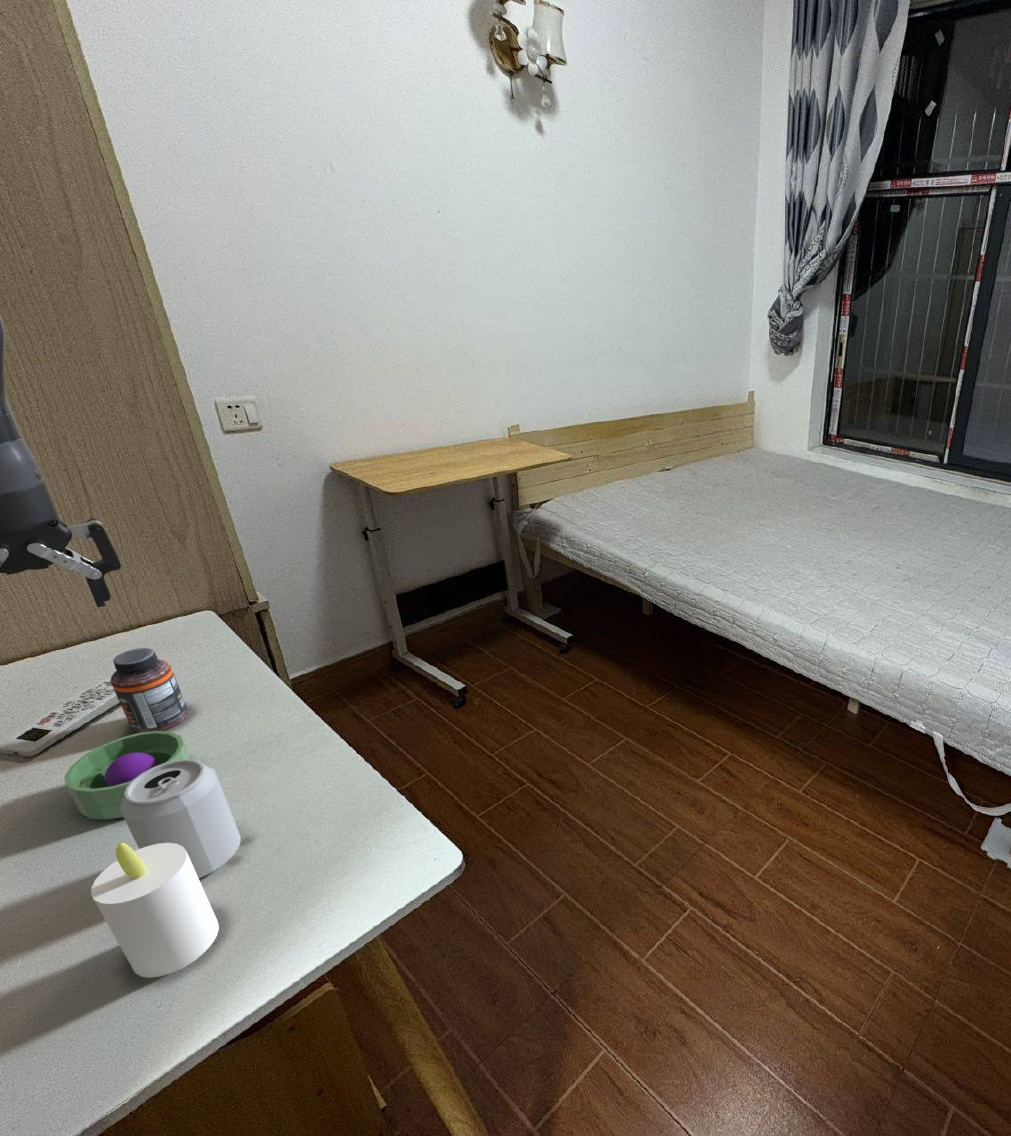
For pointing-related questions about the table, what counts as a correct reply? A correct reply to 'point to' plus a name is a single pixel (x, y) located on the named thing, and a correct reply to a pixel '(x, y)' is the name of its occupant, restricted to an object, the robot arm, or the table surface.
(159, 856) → the candle
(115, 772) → the ball
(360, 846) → the table surface
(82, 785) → the bowl
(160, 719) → the supplement bottle
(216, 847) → the can
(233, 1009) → the table surface
